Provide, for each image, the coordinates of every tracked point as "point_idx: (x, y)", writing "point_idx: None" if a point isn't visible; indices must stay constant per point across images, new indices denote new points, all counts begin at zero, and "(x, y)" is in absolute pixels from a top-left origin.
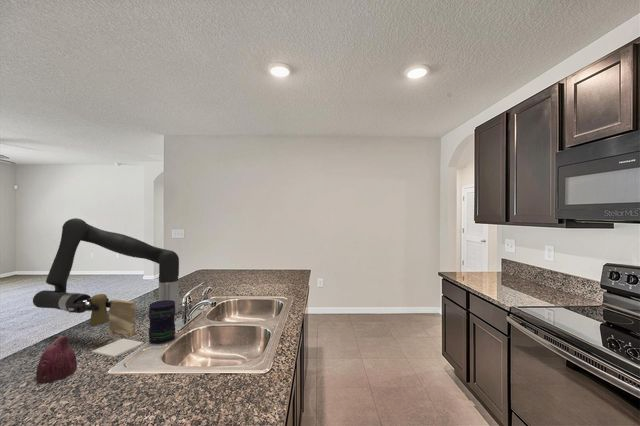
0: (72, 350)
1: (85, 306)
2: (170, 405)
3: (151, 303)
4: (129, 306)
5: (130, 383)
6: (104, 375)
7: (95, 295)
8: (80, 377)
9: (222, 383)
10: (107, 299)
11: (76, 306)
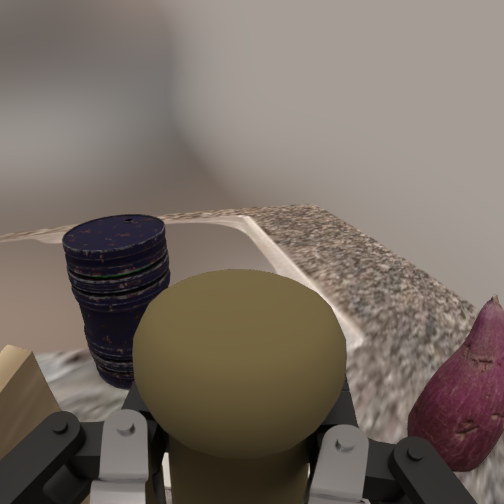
0: (445, 364)
1: (381, 461)
2: (353, 241)
3: (103, 250)
4: (34, 380)
5: (358, 288)
6: (375, 336)
7: (289, 315)
8: (414, 366)
9: (289, 229)
10: (74, 415)
11: (469, 498)
